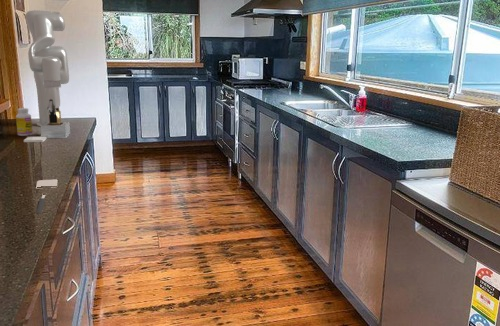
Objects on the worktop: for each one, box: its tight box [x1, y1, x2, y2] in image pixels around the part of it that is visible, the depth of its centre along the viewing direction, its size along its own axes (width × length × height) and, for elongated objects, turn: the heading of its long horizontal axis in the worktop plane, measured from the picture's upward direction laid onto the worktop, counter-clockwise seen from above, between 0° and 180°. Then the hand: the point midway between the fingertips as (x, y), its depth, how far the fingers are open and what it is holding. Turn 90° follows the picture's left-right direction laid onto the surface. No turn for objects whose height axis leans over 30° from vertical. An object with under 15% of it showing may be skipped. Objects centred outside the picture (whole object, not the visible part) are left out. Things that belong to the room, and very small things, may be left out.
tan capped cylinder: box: [48, 110, 62, 125], centre depth 222 cm, size 5×5×11 cm
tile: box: [23, 136, 48, 143], centre depth 212 cm, size 8×8×1 cm
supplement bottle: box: [15, 107, 33, 137], centre depth 222 cm, size 7×7×13 cm
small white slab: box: [35, 179, 58, 215], centre depth 136 cm, size 6×29×2 cm, turn 19°
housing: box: [40, 121, 71, 139], centre depth 223 cm, size 12×11×6 cm
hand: (55, 121), depth 222 cm, fingers open, 6 cm apart
